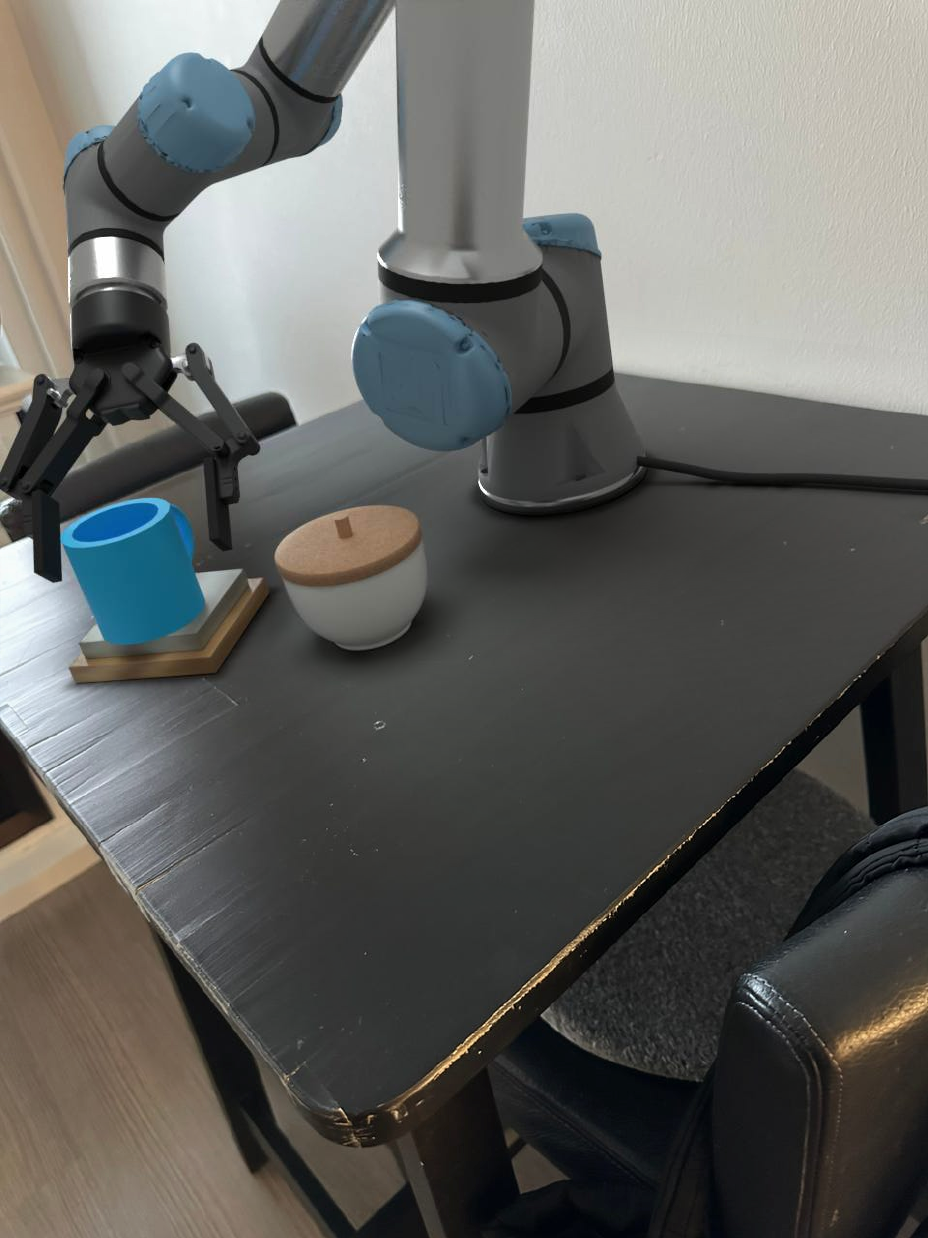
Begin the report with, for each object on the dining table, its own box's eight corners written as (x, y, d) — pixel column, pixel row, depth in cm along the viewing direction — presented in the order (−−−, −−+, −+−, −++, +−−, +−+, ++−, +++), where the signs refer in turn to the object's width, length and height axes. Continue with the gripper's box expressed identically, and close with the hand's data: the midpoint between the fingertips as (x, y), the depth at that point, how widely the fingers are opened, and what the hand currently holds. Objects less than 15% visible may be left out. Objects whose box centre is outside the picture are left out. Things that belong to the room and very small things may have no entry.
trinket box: (274, 647, 78) (237, 537, 73) (375, 582, 84) (347, 476, 79) (368, 683, 71) (333, 564, 66) (471, 609, 77) (445, 495, 72)
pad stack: (269, 592, 86) (259, 561, 85) (216, 673, 76) (203, 639, 75) (142, 604, 89) (130, 574, 88) (75, 683, 79) (60, 651, 78)
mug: (171, 644, 75) (132, 545, 71) (80, 645, 78) (37, 550, 74) (244, 564, 85) (213, 473, 81) (161, 568, 87) (127, 480, 83)
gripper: (284, 306, 85) (309, 547, 79) (1, 365, 87) (5, 603, 81) (253, 252, 77) (279, 513, 72) (-55, 318, 80) (-53, 575, 74)
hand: (133, 561), depth 77 cm, fingers open, 13 cm apart
